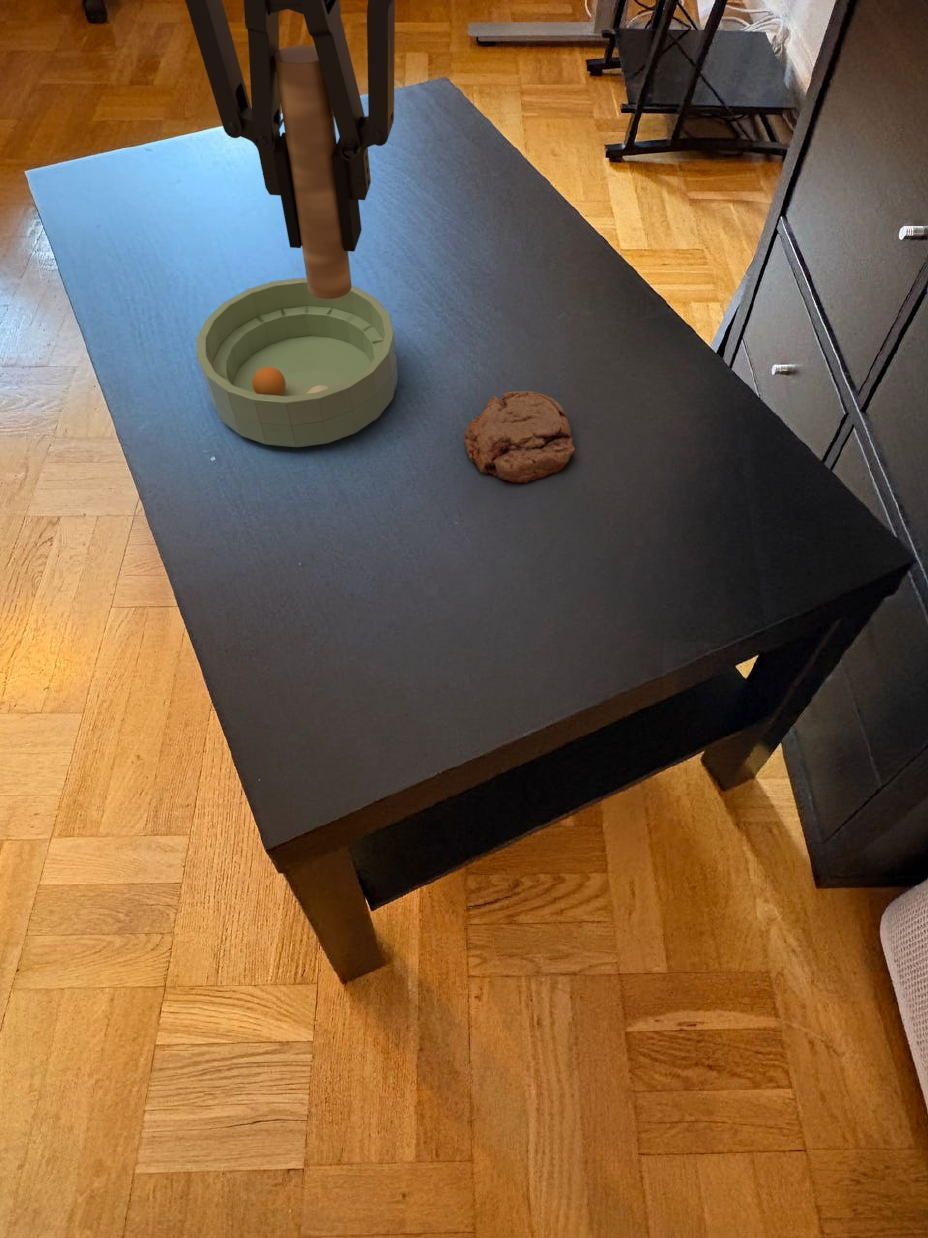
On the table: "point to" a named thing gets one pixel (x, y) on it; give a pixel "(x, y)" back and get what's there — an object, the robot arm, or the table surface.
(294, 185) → the stick
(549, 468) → the cookie
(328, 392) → the bowl
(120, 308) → the table surface
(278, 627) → the table surface
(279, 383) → the orange ball
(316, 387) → the cream ball
